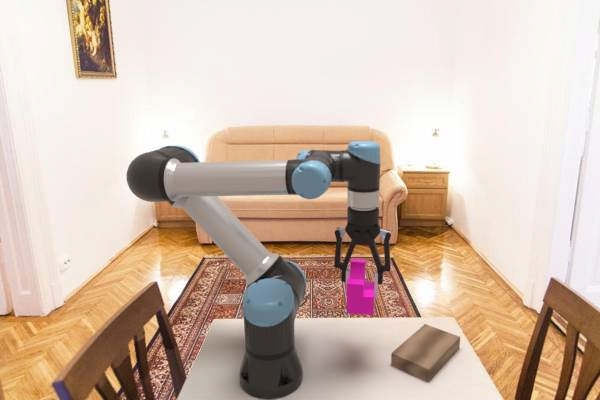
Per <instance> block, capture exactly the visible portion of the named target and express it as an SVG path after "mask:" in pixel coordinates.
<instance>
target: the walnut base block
mask: <svg viewBox="0 0 600 400" xmlns="http://www.w3.org/2000/svg"><path fill="white" fill-rule="evenodd" d="M460 346H461V336H459V335H457V334H453V333H451V332H448V331H446V330H442V329H439V328H437V327H434V326H432V325H429V324H427V323H425V324H423V325H422V326H420V328H418V329H417V330H416V331H415V332H414V333H413V334H411V335H410V336H409V337H408V338H407V339H406V340H405V341H403V343H401V344H400V345H399V346H398V347H397V348H395V349H394V350H393V351H392V352H391V355H390V356H391V357H390V358H391V359H390V366H391V367H393V368H396V369H397V370H400V371H402V372H404V373H406V374H408V375H411V376H413V377H414V378H418V379H419V380H422V381H424V382H426V383H430V381H431V380H432V379H433V378H434V377H435V376H436V375H437V374H438V373H439V372H440V371H441V370H442V369H443V367H444V366H445V365H446V364H447V363H448V362H449V360H451V359H452V357H453V356H454V355H455V354H456V353H457V352H458V351H459V350H460V348H461V347H460Z"/></svg>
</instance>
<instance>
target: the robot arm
mask: <svg viewBox="0 0 600 400" xmlns="http://www.w3.org/2000/svg"><path fill="white" fill-rule="evenodd" d="M296 155H297V156H296V159H272V160H271V159H269V160H266V159H265V160H263V159H262V160H239V161H237V160H235V161H233V160H232V161H202V162H201V161H200V159H199V157H198V155H196V154H195V152H194V151H192V150H191V149H190V148H188V147H186V146H182V145H165V146H162V147H160V148H159V149H155V150H153V151H147V152H143V153H141V154H139V155H137V156H136V157H135V158H133V160H132V161H131V162H130V163H129V166H128V167H127V171H126V175H125V176H126V183H127V186H128V188H129V191H131V193H132V194H133V195H134V196H135V197H137V198H139V200H142V201H145V202H150V203H161V202H163V203H164V202H167V203H169V205H170V206H171V207H172V208H177V209H178V208H179V209H180V208H181V209H183V211H184V212H185V213H186V214H187V215H188V216H189V217H190V218H191V219H192V220H193V221H194V223H196V224H197V226H198V227H200V228H201V230H202V231H203V232H204V233H205V234H206V236H208V238H210V239H211V240H212V242H214V244H215V245H216V246H217V247H218V248H219V249H220V250H221V251H222V252H223V253H224V254H225V256H227V257H228V258H229V260H231V262H232V263H233V264H234V265H235V266H236V267H237V268H238V269H239V270H240V271H241V273H242V274H243V275H244V276H245V286H246V289H245V292H244V293H243V296H242V313H243V325H244V327H243V328H244V343H245V352H244V356H243V359H242V362H241V365H240V369H239V382H240V386H241V387H242V389H243V390H244V391H245V392H246V393H247V394H249V395H250V396H253V397H255V398H259V399H270V400H271V399H278V398H282V397H285V396H288V395H290V394H291V393H293V392H295V391H296V390H297V389H298V388H299V387H300V385H301V384H302V382H303V373H304V372H303V370H304V369H303V365H302V362H301V359H300V357H299V354H298V353H297V350H296V346H295V345H296V343H295V341H296V340H295V339H296V338H295V320H296V317H297V314H298V312H299V309H300V307H301V304H302V301H303V299H304V298H305V295H306V292H307V291H306V289H307V279H306V275H305V273H304V270H303V269H302V268H301V266H299V265H298V264H297V263H296V262H293V261H291V260H286V259H284V257H282V256H281V255H280V254H279V253H274V252H272V253H271V252H270V251H269V249H267V247H265V246H264V244H262V242H260V241H259V239H257V237H256V236H255V235H254V234H253V232H251V231H250V230H249V229H248V227H246V225H244V224H243V222H242V221H241V220H240V218H238V216H236V215H235V214H234V213H233V212H232V210H231V209H230V208H229V207H228V206H227V205H226V204H225V203H224V202H223V201H222V200H221V199H220V198H219V197H233V196H234V197H235V196H236V197H237V196H238V197H239V196H242V197H243V196H299V197H301V198H302V199H306V200H315V199H318V198H319V197H321V196H322V195H324V194H325V193H326V192H327V191H328V190H329V188H330V186H331V183H347V206H348V207H347V211H346V213H347V217H346V218H347V222H346V223H347V224H346V225H345V227H341V228H340V227H336V228H335V231H334V236H335V239H336V241H335V251H334V263H333V266H334V267H333V268H335V269H340V270H341V274H340V275H341V279H340V280H341V282H342V283H345V296H346V297H347V280H348V279H350V267H348V266H349V264H350V261H351V259H352V255H353V253H354V249H355V247H356V245H368V247H369V250H370V252H371V255H372V259H373V261H374V265H375V267H376V268H375V270H374V282H375V285H374V299H378V295H379V293H378V291H379V289H378V288H379V285H382V284H383V282H384V279H383V278H384V273H385V272H390V271H391V251H390V249H391V248H390V240H391V237H392V231H391V229H390V230H389V229H386V230H385V229H381V226H380V223H379V222H380V221H379V220H380V219H379V218H380V208H379V205H380V190H381V189H380V187H381V186H380V181H381V180H380V179H381V146H380V144H379V143H378V142H375V141H372V140H371V141H370V140H359V141H358V140H357V141H356V140H355V141H350V142H349V143H348V144H347V148H346V149H343V150H331V149H330V150H329V149H328V150H321V149H320V150H317V149H313V148H312V149H309V150H306V149H305V150H300V151H299V152H298V153H297V154H296ZM345 233H346V234H347V235H348V237H349V239H350V240H351V241H350V243H349V246H348V248H347V251H346V254H345V257H344V258H343V262H342V261H341V258H342V257H341V256H342V248H343V247H342V246H343V244H342V243H343V238H344V237H345ZM379 235H380V236H381V240H383V250H384V251H383V253H384V254H383V255H384V264H383V262H382V259H381V256H380V254H379V251H378V248H377V244H376V241H375V240H376V238H378V236H379Z"/></svg>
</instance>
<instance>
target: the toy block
mask: <svg viewBox="0 0 600 400" xmlns="http://www.w3.org/2000/svg"><path fill="white" fill-rule="evenodd" d="M366 262H367V261H366V259H359V258H350V265H349V266H350V279H348V280H347V296H346V308H345V309H346V312H345V313H346V314H353V315H364V316H366V315H367V316H374V312H375V307H374V305H375V298H374V285H375V281H367V280H366V264H367V263H366Z"/></svg>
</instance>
